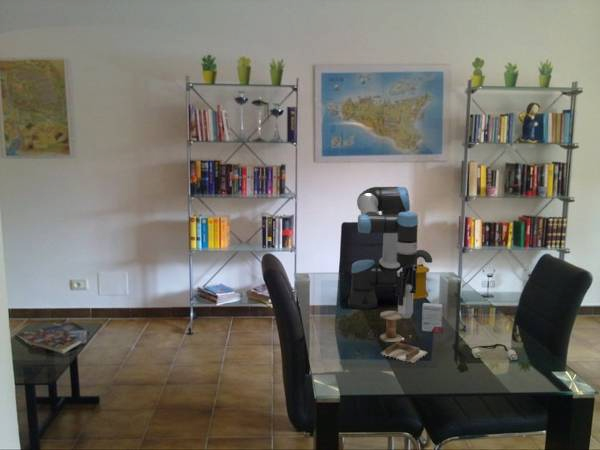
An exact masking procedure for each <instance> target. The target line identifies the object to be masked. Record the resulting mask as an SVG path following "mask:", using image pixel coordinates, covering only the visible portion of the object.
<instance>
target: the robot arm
mask: <svg viewBox="0 0 600 450" xmlns="http://www.w3.org/2000/svg"><path fill="white" fill-rule="evenodd" d="M356 205H357V209H358V210H359V211H360V214H359V215H358V217H357V231H358V233H359V234H367V235H368V234H383V238H382V256H381V258H379V260H378V262H375V260H374V259H360V260H357V261H354V262H353V263H352V264H351V270H350V273H351V287H350V288H351V291H350V293H349V296H348V299H347V305H348V306H349V307H350V308H352V309H357V310H358V309H359V310H370V309H375V308H376V307H378V299H377V296H376V293H375V287H376V286H377V287H382V286H383V287H395V288H394V289H395V290H394V296H395V297H397V298H398V299H397V300H398V301H397V312H398V313H402V314H405V302H406V297H404V296H405V289H406V284H410V285H411V286H412V290H411V291H410V294H411V300H412V306H413V307H414V299H413V293H416V291H414V290H416V271H417V266H414V265H413V264H415V263H416V262H417V263H418V259H417V254H416V252H417V250H418V247H419V245H418V226H419V225H418V224H419V215H418V213H417V212H414V211H410V210H411V205H410V195H409V191H408V188H407V187H404V186H372V187H369V188H367V189H365V190H363V191H362V192H361V193H360V194H359V195H358V197H357V200H356ZM380 212H381V214H380ZM405 277H406V278H405Z"/></svg>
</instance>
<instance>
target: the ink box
mask: <svg viewBox="0 0 600 450" xmlns="http://www.w3.org/2000/svg"><path fill="white" fill-rule="evenodd" d="M421 310H422V311H421V331H422V332H430V333H431V332H432V333H442V331H443V303H440V304H439V303H431V302H430V303H428V302H423V304H422V308H421Z"/></svg>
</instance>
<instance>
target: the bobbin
mask: <svg viewBox="0 0 600 450" xmlns="http://www.w3.org/2000/svg"><path fill="white" fill-rule="evenodd" d="M380 317H381V318H382V319H384V320H386V321H385V322H386V323H385V324H386V325H385V326H386V331H385V332H384V333H381V334H380V335H379V339H380V338H381V339H382V340H383V341H382V340H381V339H380V340H381V341H382V342H384V341H386V342H385V343H387V342H399V343H401V342H402V339H403V338H402V336H401V335H400V334H398V333H396V332H397V321H398V320H401V319H403V318H402V317H400V315H399V313H398V310H397V311H396V310H384V311H381V312H380Z"/></svg>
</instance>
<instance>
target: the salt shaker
mask: <svg viewBox="0 0 600 450" xmlns="http://www.w3.org/2000/svg"><path fill="white" fill-rule="evenodd" d="M411 290H412V286H411V285H410V284H406V289H405V296H404V297H406V302H405V314H402V313H399V315H400V317H402V318H401V319H411V317H412V315H413V313H414V305H413V306H412V300H411V294H410V291H411Z"/></svg>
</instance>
